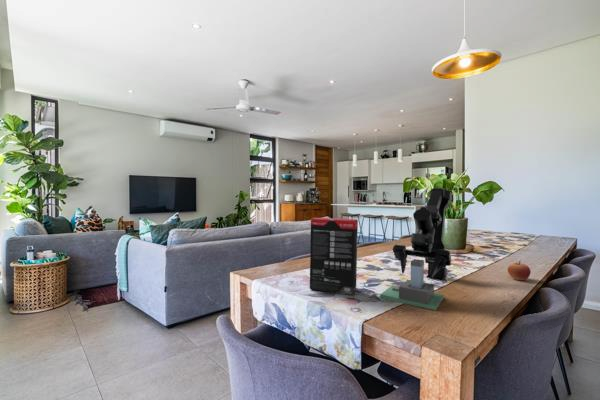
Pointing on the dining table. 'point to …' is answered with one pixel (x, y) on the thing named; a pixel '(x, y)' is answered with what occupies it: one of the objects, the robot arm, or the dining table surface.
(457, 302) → the dining table surface
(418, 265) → the light blue tall block
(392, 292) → the header board
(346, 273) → the graphics card box
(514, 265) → the apple
